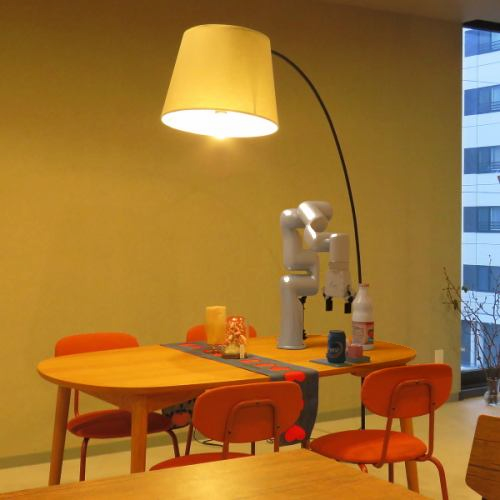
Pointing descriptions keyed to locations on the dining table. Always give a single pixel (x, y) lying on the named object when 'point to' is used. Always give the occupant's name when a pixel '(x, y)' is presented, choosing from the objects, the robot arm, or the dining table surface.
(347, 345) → the dome
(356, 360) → the game base
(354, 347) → the red die
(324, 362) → the board
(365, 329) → the fruit juice
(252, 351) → the dining table surface
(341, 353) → the soda can
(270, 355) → the dining table surface
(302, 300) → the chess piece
